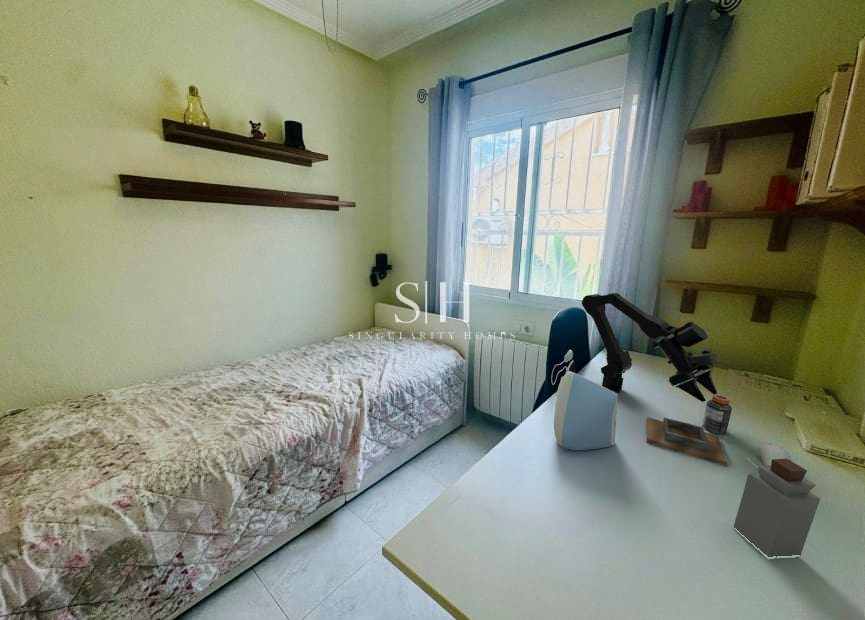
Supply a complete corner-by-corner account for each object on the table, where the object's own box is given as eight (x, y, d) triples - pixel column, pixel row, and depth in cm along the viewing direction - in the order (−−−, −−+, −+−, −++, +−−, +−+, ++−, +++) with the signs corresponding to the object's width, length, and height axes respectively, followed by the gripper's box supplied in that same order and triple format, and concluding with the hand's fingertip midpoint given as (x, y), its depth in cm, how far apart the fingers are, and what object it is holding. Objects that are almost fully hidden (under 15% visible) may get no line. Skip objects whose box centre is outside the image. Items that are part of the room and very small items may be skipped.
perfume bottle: (733, 528, 69) (754, 453, 64) (762, 526, 69) (785, 452, 65) (767, 559, 62) (793, 478, 58) (799, 557, 63) (827, 477, 58)
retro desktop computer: (571, 345, 104) (631, 359, 93) (572, 401, 114) (626, 420, 102) (533, 391, 89) (599, 414, 77) (538, 452, 98) (597, 480, 87)
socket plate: (646, 442, 96) (648, 431, 96) (646, 420, 108) (648, 410, 107) (726, 466, 87) (729, 453, 86) (717, 439, 99) (719, 428, 98)
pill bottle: (716, 424, 106) (724, 392, 104) (731, 435, 100) (739, 402, 98) (697, 423, 107) (704, 391, 104) (710, 434, 101) (718, 401, 98)
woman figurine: (808, 451, 87) (813, 492, 75) (803, 465, 88) (808, 507, 76) (748, 432, 95) (744, 466, 83) (744, 445, 96) (740, 480, 84)
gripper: (687, 347, 99) (725, 395, 93) (711, 337, 109) (748, 381, 102) (654, 363, 107) (687, 408, 101) (679, 353, 117) (711, 393, 111)
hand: (710, 397), depth 103 cm, fingers open, 9 cm apart
